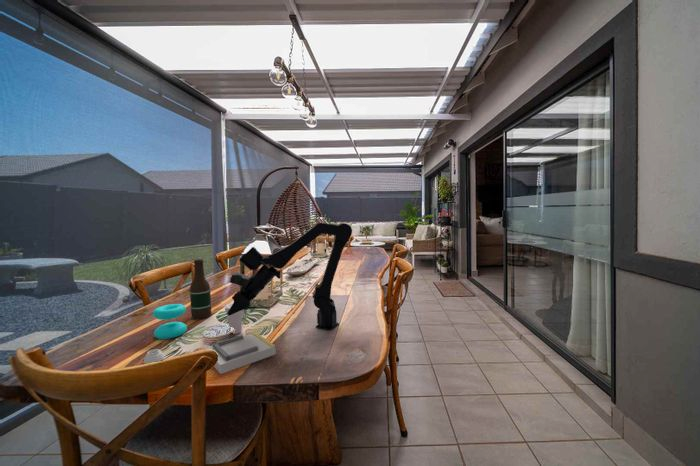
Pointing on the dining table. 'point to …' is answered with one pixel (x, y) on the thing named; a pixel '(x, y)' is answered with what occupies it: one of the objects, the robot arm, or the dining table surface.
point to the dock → (241, 351)
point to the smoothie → (235, 319)
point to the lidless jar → (153, 356)
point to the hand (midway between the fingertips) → (230, 311)
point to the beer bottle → (200, 293)
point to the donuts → (173, 327)
